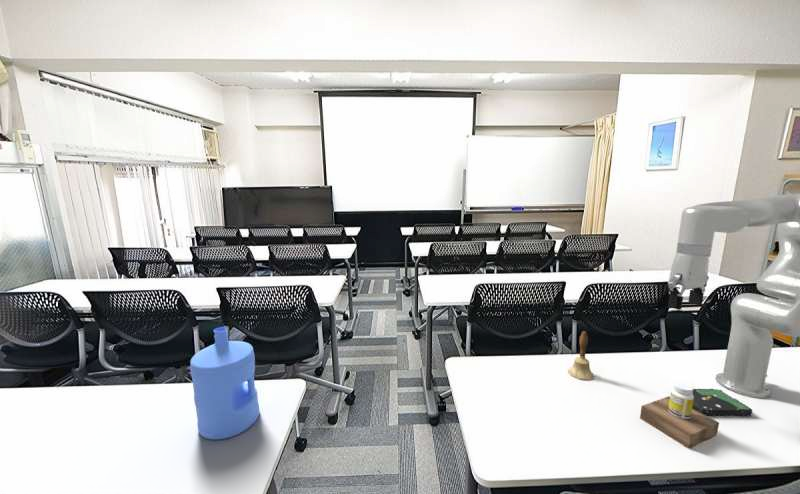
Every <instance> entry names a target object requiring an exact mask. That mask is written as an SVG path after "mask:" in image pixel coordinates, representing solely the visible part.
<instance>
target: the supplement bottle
mask: <svg viewBox="0 0 800 494" xmlns="http://www.w3.org/2000/svg"><path fill="white" fill-rule="evenodd" d="M693 389H694V387H693V386H691V385H690V384H688V383H685V382H682V381H674V383H673V386H672V388H671V389H670V393H669V394H670V395H669V397H670V401H669V408H668V410H669V412H670V413H671V414H673V415H674V416H676V417H679V418H683V419H689V418H690V417H691V413H692V406H693V400H694V396H693V394H692V393H693Z"/></svg>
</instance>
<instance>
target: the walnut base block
mask: <svg viewBox="0 0 800 494" xmlns="http://www.w3.org/2000/svg"><path fill="white" fill-rule="evenodd" d="M669 401H670V395H667V396H666V397H663V398H659V399H657V400H654V401H651V402H648V403H646V404H643V405H641V408H640V416H639V419H640V420H641V421H643V422H645V423H646V424H648V425H649V426H652V427H653V428H654V429H656V430H658V431H659V432H661V433H663V434H665V435H666V436H667V437H669V438H671V439H672V440H674V441H676V442H677V443H679V444H680V445H681V446H684V447H685V448H687V449H688V450H689V449H691V448H693V447H695V446H698V445H699V444H702V443H704V442H708V441H709V440H711V439H713V438H716V437H717V436H718V430H719V427H720V426H719V425H720V421H719V422H718V421H717V420H715V419H713V418H712V417H708V416H706V415H704V414H702V413H700V412H698V411H696V410H694V409H692V413H691V417H690V418H689V419H683V418H679V417H676V416H674V415H673V414H671V413H670V412H669V410H668V408H669Z"/></svg>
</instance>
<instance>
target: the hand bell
mask: <svg viewBox="0 0 800 494" xmlns="http://www.w3.org/2000/svg"><path fill="white" fill-rule="evenodd" d="M587 333H588V332H587V331H582V332H581V335H580V336H579V347H580V351H579V356H578V357H575V359H574V362H573V365H572V366H571V367H569V368H568V369H567V373H568V374H569V375H570V376H571V377H573V378H575V379H577V380H580V381H585V382H586V381H592V380H594V379H595V374H594V373H593V372H592V370H591V367H590V360H588V359H587V358H586V349H587V347H588V344H589V337H588V334H587Z"/></svg>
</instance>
